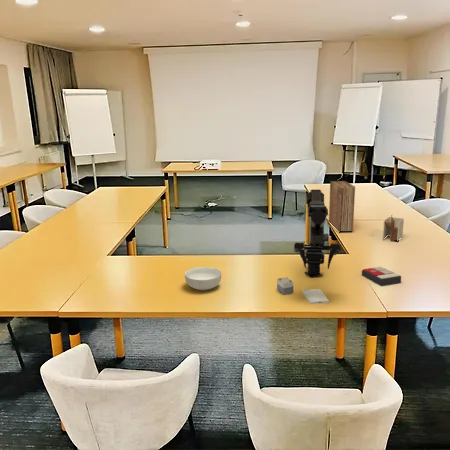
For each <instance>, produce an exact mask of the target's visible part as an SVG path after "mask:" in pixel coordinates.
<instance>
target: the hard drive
mask: <svg viewBox="0 0 450 450" xmlns="http://www.w3.org/2000/svg"><path fill="white" fill-rule="evenodd" d="M302 294H303V296H304V297H305V299H306V300H307V302H308V303H309V304H310V305H315V304H318V305H319V304H330V300H329V298H328V297H327V296H326V295H325V293H324V292H323V291H322V289H320V288H315V289H302Z"/></svg>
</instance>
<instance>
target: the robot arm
mask: <svg viewBox="0 0 450 450" xmlns="http://www.w3.org/2000/svg"><path fill="white" fill-rule="evenodd" d="M305 197H306V198H305V205H307V217H308V218H309V217H310V219H309V220H310V221H309V244H307V245H305V243H304V242H295V243H294V245H293V246H294V247H293V249H294V251H293V252H295V253H296V254H297V255H299V256H300V258H301V260H302V262H303V266H304V268H305V269H306V268H307V271H304V274H305V275H307V276H308V277H309V278H317V277H322V276H323V274H322V273H321V265H324V264H325V257H326V256H325V254H324V251H329V252H328V258H327V259H328V260H327V270H329V269H330V265H331V263H332V260H333V257H334V256H336V255H337V254H340V253H341V249H342V248H341V244H340V243H330V245H325V242H329V241H330V240H329V238H330V236H329V235H330V234H329V233H325V224H326V223H325V222H326V218H327V217H328V216H329V210H328V208H327V206H326V205H325V194H324V193H323V192H322V189H310V191H309V192H307V193H306V196H305Z"/></svg>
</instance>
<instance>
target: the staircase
mask: <svg viewBox="0 0 450 450" xmlns="http://www.w3.org/2000/svg"><path fill="white" fill-rule="evenodd" d="M404 220H405V218H400V217H393V214H391V216H389V217H387V218H385V219H384V220H383V227H382V228H383V229H382V240H383V239H384V238H385V237H386V236H387V235H390V236H389V241H390V240H391V241H394V240H397V241H398V240H399V239H400V238H402V239H403V234H404ZM385 239H386V238H385ZM385 239H384V240H385Z"/></svg>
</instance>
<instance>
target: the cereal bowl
mask: <svg viewBox="0 0 450 450" xmlns="http://www.w3.org/2000/svg"><path fill="white" fill-rule="evenodd" d="M184 279H185V282H186V284H187V285H188V286H189V287H191V288H193V289H195V290H198V291H209V290H211V289H213V288H215V287H217V286H218V285H220V282H221V280H222V271H221V270H220V269H218V268H216V267H211V266H198V267H192V268H190V269H188V270H186V271H185V273H184Z"/></svg>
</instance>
